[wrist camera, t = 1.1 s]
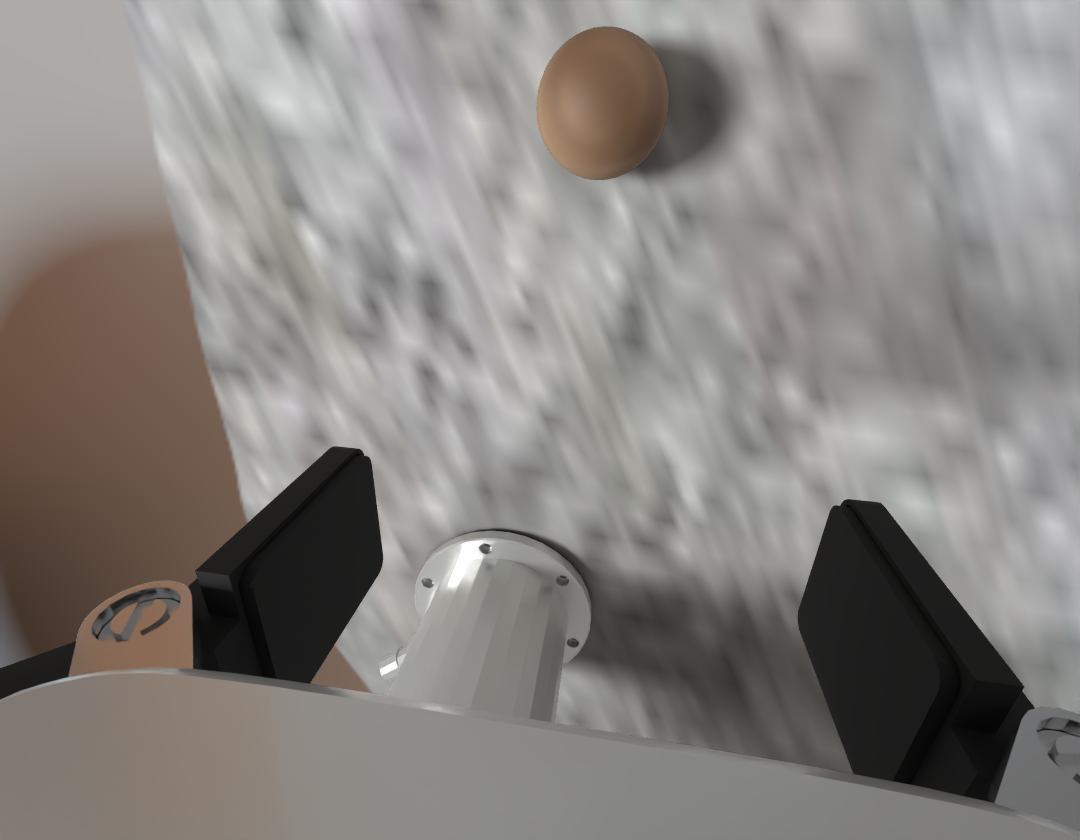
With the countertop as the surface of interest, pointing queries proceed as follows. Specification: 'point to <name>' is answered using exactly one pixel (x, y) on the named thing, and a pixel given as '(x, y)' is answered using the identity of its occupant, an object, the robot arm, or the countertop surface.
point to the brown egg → (602, 103)
